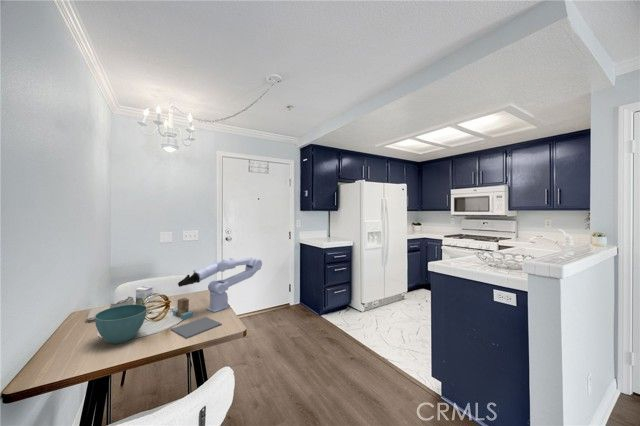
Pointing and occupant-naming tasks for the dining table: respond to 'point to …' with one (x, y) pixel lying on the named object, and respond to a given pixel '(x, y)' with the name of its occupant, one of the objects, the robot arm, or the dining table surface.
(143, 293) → the syrup box
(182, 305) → the walnut block
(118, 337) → the teal bowl
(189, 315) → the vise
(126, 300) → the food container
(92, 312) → the washcloth
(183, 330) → the rubber mat
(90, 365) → the dining table surface
